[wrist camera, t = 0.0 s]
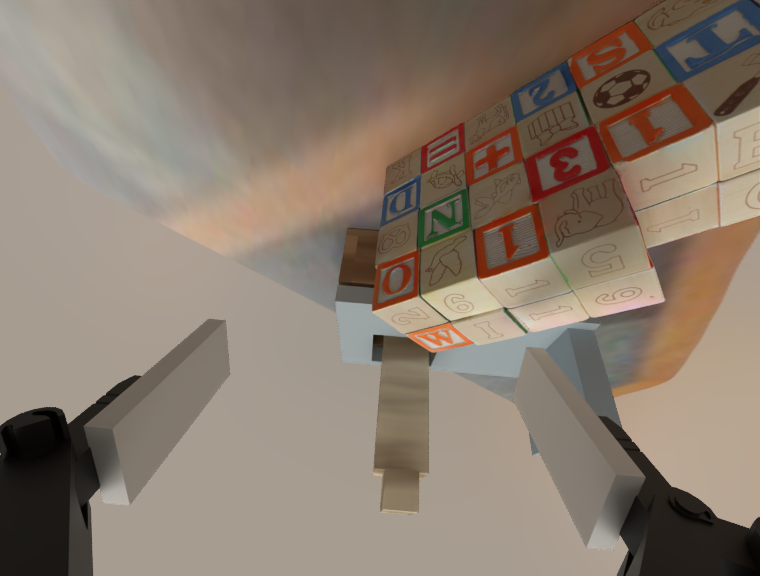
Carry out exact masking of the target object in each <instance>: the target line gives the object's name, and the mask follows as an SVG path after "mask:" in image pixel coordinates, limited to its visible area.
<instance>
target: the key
mask: <svg viewBox="0 0 760 576" xmlns="http://www.w3.org/2000/svg"><path fill="white" fill-rule="evenodd" d="M427 474H429V351H428V350H427V349H425V348H424V347H422V346H421V345H419V344H417V343H416V342H414V341H413V340H411V339H410V338H409V337H397V336H386V335H384V339H383V352H382V364H381V377H380V390H379V404H378V416H377V429H376V442H375V455H374V469H373V475H378V476H382V488H381V503H380V512H386V513H398V514H408V515H410V514H414V513H418V512H419V479H422V478H424V477H425V476H426V475H427Z"/></svg>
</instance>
